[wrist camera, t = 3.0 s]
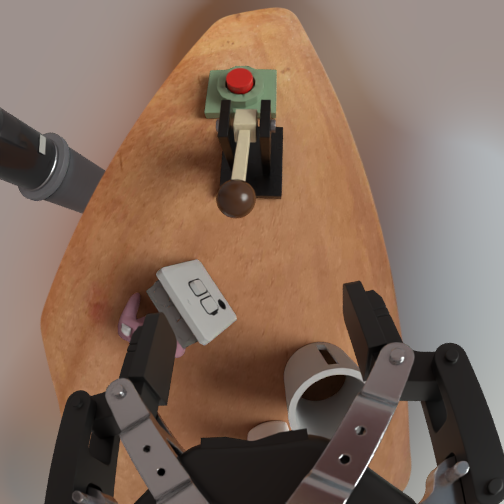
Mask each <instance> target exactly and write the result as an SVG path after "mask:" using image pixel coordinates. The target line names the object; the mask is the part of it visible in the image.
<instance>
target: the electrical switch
mask: <svg viewBox="0 0 504 504" xmlns="http://www.w3.org/2000/svg"><path fill="white" fill-rule="evenodd" d="M156 276H157V277H158V279H159V280H158V281H156V282H155V283H154V285H153V286H152V287H151V288H149V289H148V290H147V291H146V292H147V294H148V295H149V297H150V298H151V300H152V302H153V303H154V305H155V307H156V308H157V310H158V311H159V312H163V313H164V314H165V316H166V318H167V320H168V322H169V324H170V326H171V327H172V329H173V331H174V333H175V336H176V339H177V341H178V342H179V344H180V345H181V347H182V348H186V347H188V346H189V345H191V344H194V343H195V342H197V341H199V343H200V344H203V345H206V344H208V343H209V342H210V341H211V340H213V339H214V338H215V337H216V336H218V335H219V334H220V333H221V332H222V331H224V330H225V329H226V328H227V327H228V326H230V325H231V324H232V323H233V322H234V321H236V320H237V319H236V315H235V313H234V312H233V310H232V309H231V307H230V306H229V304H228V303H227V301H226V300H225V298H224V297H223V295H222V294H221V292H220V291H219V289H218V288H217V286H216V285H215V283H214V282H213V280H212V279H211V277H210V276H209V274H208V273H207V271H206V270H205V268H204V266H203V265H202V263H201V262H200V261H199V260H197V259H196V260H192V261H188V262H184V263H179V264H175V265H171V266H167V267H163V268H161V269H160V270H159V271H157V273H156ZM162 286H163V287H162ZM154 291H155V292H154ZM169 297H170V301H169ZM155 300H156V301H155ZM164 305H165V306H164ZM169 306H170V307H169ZM167 307H168V308H167ZM181 317H182V318H181ZM179 319H180V320H179ZM177 320H179V321H178V322H177ZM193 334H194V335H193ZM180 338H181V339H180Z"/></svg>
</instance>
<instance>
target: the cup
mask: <svg viewBox="0 0 504 504" xmlns="http://www.w3.org/2000/svg"><path fill="white" fill-rule="evenodd" d="M319 350H327V351H328V352H329V354H330V355H331V356H332V358H333V359H334V360H335V362H336V363H337V364H330V365H328V364H327V363H326V361H325V359H324V358H323V356H322V355H321V353H320V352H319ZM332 375H346V379H345V382H344V384H343V386H342V387H341V389H340V390H339V391H338V392H337V393H336V394H335V395H333V396H331V397H330V398H327V399H325V400H321V401H320V400H319V401H310V400H307V399H304V398H301V397H300V396H301V395H302V394H303V393H304V392H305V391H306V389H307V388H308V387H309V386H310V385H311V384H313V383H314V382H316V381H318V380H320V379H323V378H325V377H327V376H332ZM365 383H366V381H364V382H363V379H362V376H361V372H360V369H359V367H358V366H357V365H356V364H355V363H354V362H353V361H352V360H351V359H350V357H349V356H348V355H347V354H346V353H345V352H344V351H343V350H342V349H340V348H339V347H337V346H335V345H333V344H330V343H324V342H317V343H311V344H308V345H305V346H304V347H302V348H300V349H299V350H297V351H296V352H295V353H294V354H293V355H292V356H291V358H290V359H289V360H288V363H287V365H286V367H285V370H284V384H285V393H286V402H287V411H288V419H289V424H290V426H291V429H292V430H298V429H304V428H307V433H308V434H312V435H318V436H322V437H326V438H328V439H332V437H333V435H334V434H335V432H336V430H337V428H338V427H339V425H340V423H341V422H342V420H343V418H344V416H345V415H346V413H347V411H348V409H349V407H350V406H351V404H352V402H353V400H354V398H355V397H356V395H357V394H358V393H360V392H361V390H362V388H363V387H364V385H365Z"/></svg>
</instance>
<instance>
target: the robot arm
mask: <svg viewBox="0 0 504 504" xmlns="http://www.w3.org/2000/svg"><path fill="white" fill-rule="evenodd" d="M58 159H59V150H58V146H57V144H56V143H55V142H54V141H53V140H51V139H49V138H47V137H45V136H44V135H42V134H41V133H39V132H37V131H36V130H34V129H33V128H31V127H30V126H28V125H27V124H25V123H23V122H22V121H20V120H19V119H17V118H16V117H14V116H13V115H11V114H9V113H7V112H6V111H5V110H3V109H2V108H0V179H1V180H4V181H7V182H9V183H12V184H14V185H17V186H19V187H22V188H24V189H26V190H28V191H38V190H40V189H41V188H43V187H44V186H45V185H46V184H47V183H48V182H49V181H50V179H51V178H52V176H53V174H54V172H55V170H56V167H57V164H58ZM343 316H344V321H345V324H346V327H347V330H348V333H349V336H350V340H351V343H352V346H353V349H354V352H355V356H356V359H357V362H358V365H359V369H360V372H361V376H362V379H363V382H364V381H366V383H365V385H364V387H363V388H362V390H361V392H360V393H358V394H357V395H356V397H355V398H354V400H353V402H352V404H351V406H350V407H349V409H348V411H347V413H346V415H345V416H344V418H343V420H342V422H341V423H340V425H339V427H338V428H337V430H336V432H335V434H334V435H333V437H332V439H328V438H326V437H322V436H318V435H312V434H308V433H307V428H304V429H298V430H291V431H284V432H279V433H276V434H273V435H270V436H267V437H264V438H261V439H258V440H255V441H248V440H241V439H235V438H229V437H212V438H201V444H200V445H197V446H194V447H192V448H190V449H188V450H187V451H186V450H185V449H184V448H183V447H182V446H181V445H180V444H179V442H178V441H177V440H176V438H175V437H174V435H173V434H172V433H171V431H170V430H169V428H168V427H167V425H166V424H165V422H164V421H163V419H162V418H161V416H160V415H159V413H158V412H157V411H158V406H164V405H167V402H168V396H169V390H170V383H171V377H172V371H173V366H174V360H175V354H176V349H177V339H176V336H175V333H174V331H173V329H172V327H171V326H170V324H169V322H168V320H167V318H166V316H165V314H164V313H163V312H159V313H151V314H147V315H146V316H145V319H144V323H143V326H138V327H137V329H136V330H135V331H134V333H133V334H132V337H131V340H130V343H129V344H130V345H129V346H128V349H127V353H126V356H125V359H124V363H123V366H122V370H121V373H120V376H119V379H117V380H115V381H113V382H112V383H111V384H110V385H109V386H108V387H107V389H106V392H103V393H100V394H97V395H93V396H90V395H89V394H88V393H87V392H85V391H82V390H80V391H76V392H74V393H73V394H71V395H70V396H69V398H68V400H67V402H66V405H65V409H64V412H63V416H62V420H61V424H60V428H59V432H58V436H57V440H56V444H55V449H54V454H53V459H52V463H51V468H50V473H49V478H48V485H47V490H46V497H45V503H44V504H118V502H117V501H116V500H115V499H114V498H113V496H114V485H115V475H116V467H117V458H118V451H119V443H120V439H121V441H122V443H123V445H124V447H125V449H126V450H127V452H128V454H129V456H130V458H131V460H132V462H133V463H134V465H135V467H136V469H137V470H138V472H139V474H140V476H141V477H142V479H143V481H144V482H145V484H146V486H147V487H148V490H147V491H146V492H145V493H144V494H143V495H142V496H141V497H140V498H139V499H138V500H137V501H136V502H135V503H134V504H416V503H415V501H414V500H413V499H412V498H410V497H409V496H408V495H406V494H405V493H403V492H402V491H400V490H399V489H398V488H396V487H395V486H393V485H392V484H390V483H389V482H388V481H386V480H385V479H384V478H382V477H381V476H379V475H378V474H377V473H375V472H374V471H373V470H371V469H370V468H369V467H368V465H369V463H370V462H371V460H372V458H373V456H374V454H375V452H376V450H377V448H378V446H379V444H380V442H381V440H382V438H383V436H384V434H385V432H386V430H387V427H388V425H389V423H390V421H391V419H392V416H393V414H394V412H395V410H396V407H397V405H398V403H399V401H421V404H422V408H423V411H424V415H425V419H426V422H427V426H428V430H429V434H430V437H431V442H432V445H433V450H434V454H435V458H436V463H437V467H436V468H435V469H434V470H432V471H431V473H430V474H429V475H428V477H427V480H426V491H425V494H424V497H423V499H422V500H421V501H420V502H419V503H418V504H499V503H500V502H502V501H503V500H504V453H503V449H502V446H501V443H500V440H499V436H498V433H497V430H496V427H495V424H494V421H493V418H492V416H491V413H490V410H489V407H488V405H487V402H486V399H485V397H484V394H483V392H482V390H481V387H480V384H479V382H478V380H477V377H476V375H475V373H474V370H473V368H472V366H471V363H470V361H469V359H468V357H467V355H466V352H465V351H464V349H463V348H461V347H460V346H459V345H457V344H454V343H445V344H442V345H441V346H439V347H438V348H437V350H436V352H418V351H414V350H412V349H411V348H410V347H409V346H408V345H406V344H404V343H403V342H402V340H401V337H400V335H399V333H398V331H397V329H396V326H395V324H394V322H393V320H392V318H391V316H390V315H389V311H388V309H387V308H386V305H385V303H384V301H383V299H382V297H381V296H380V295H379V294H377V293H376V292H375V291H374V290H371V291H366V292H365V290H364V288H363V285H362V283H361V282H360V281H355V282H350V283H345V284H343ZM91 432H92V433H91ZM90 436H91V439H90ZM89 441H90V444H89Z"/></svg>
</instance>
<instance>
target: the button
mask: <svg viewBox="0 0 504 504" xmlns="http://www.w3.org/2000/svg"><path fill="white" fill-rule="evenodd" d="M226 82H227V86H228V89H229V90H230V91H231V92H233V93H235V94H244V93H247V92H248V91H250V90H251V88H252V87H253V76H252V74H251V72H250V71H249V70H247V69H244V68H237V69H233V70H232V71H230V72H229V73H228V74H227V76H226Z"/></svg>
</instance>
